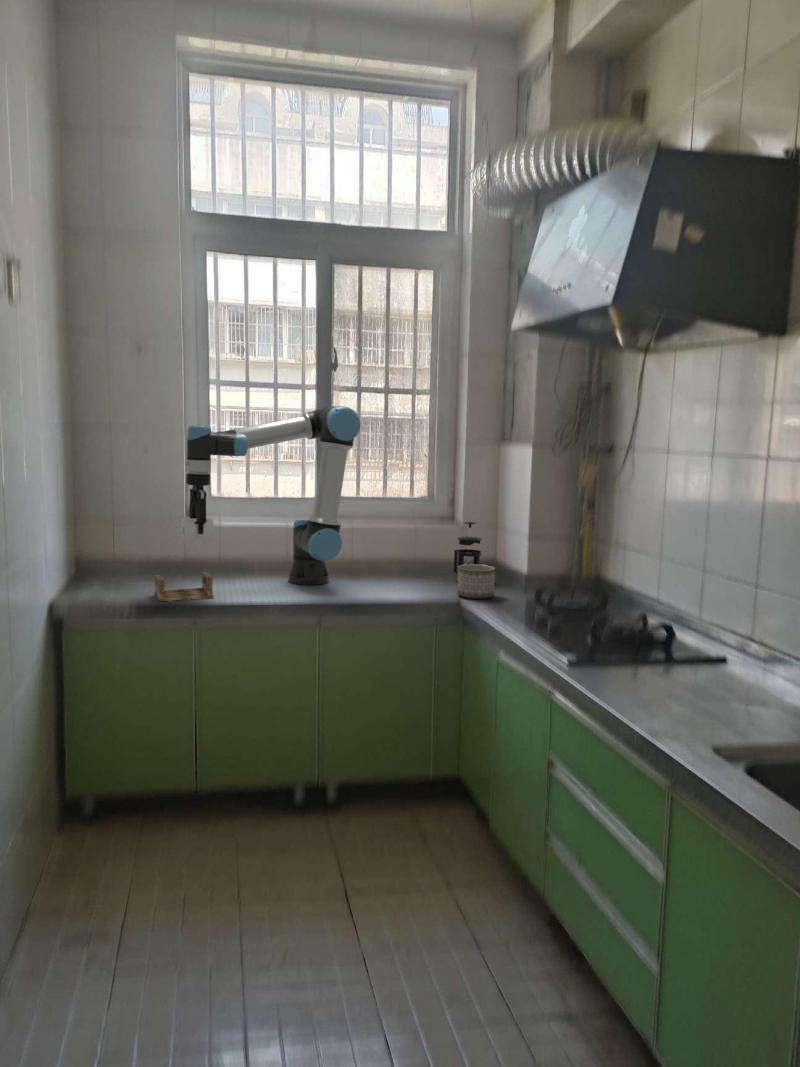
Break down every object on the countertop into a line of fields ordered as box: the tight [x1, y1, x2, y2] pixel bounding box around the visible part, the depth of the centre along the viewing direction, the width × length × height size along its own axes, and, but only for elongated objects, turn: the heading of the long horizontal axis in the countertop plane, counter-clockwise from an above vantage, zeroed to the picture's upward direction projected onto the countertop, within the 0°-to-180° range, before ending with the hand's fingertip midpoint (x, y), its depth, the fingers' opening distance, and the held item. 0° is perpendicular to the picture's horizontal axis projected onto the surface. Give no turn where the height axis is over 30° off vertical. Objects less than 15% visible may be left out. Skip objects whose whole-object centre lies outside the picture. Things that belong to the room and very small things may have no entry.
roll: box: [180, 517, 215, 544], centre depth 273 cm, size 9×8×8 cm
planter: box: [456, 563, 496, 599], centre depth 286 cm, size 13×13×10 cm
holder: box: [154, 571, 214, 602], centre depth 273 cm, size 17×11×7 cm, turn 116°
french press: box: [453, 521, 482, 584], centre depth 310 cm, size 12×9×23 cm
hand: (196, 541), depth 273 cm, fingers closed on roll, 8 cm apart
